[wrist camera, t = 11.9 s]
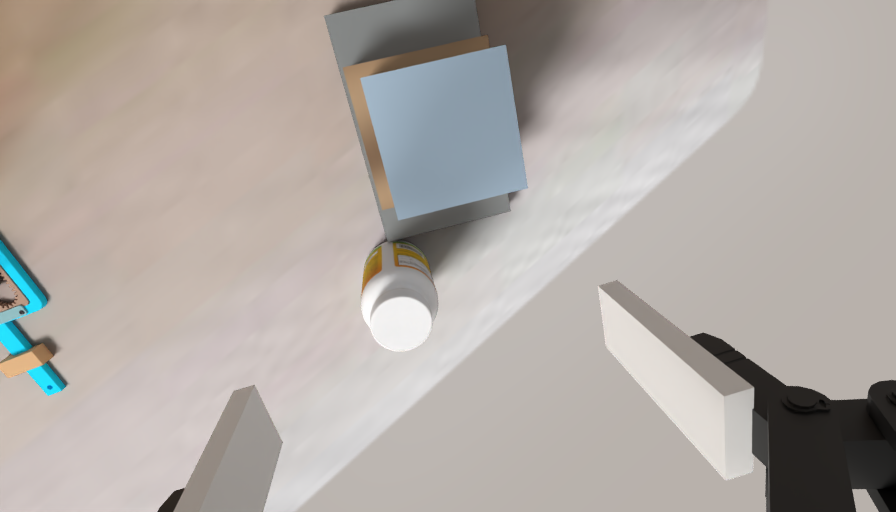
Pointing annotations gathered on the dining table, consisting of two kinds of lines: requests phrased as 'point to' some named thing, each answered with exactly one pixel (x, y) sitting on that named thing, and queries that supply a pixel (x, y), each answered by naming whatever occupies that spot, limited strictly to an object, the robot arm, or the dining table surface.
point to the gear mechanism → (12, 338)
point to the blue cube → (447, 131)
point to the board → (397, 32)
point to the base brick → (387, 65)
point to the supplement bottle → (398, 295)
